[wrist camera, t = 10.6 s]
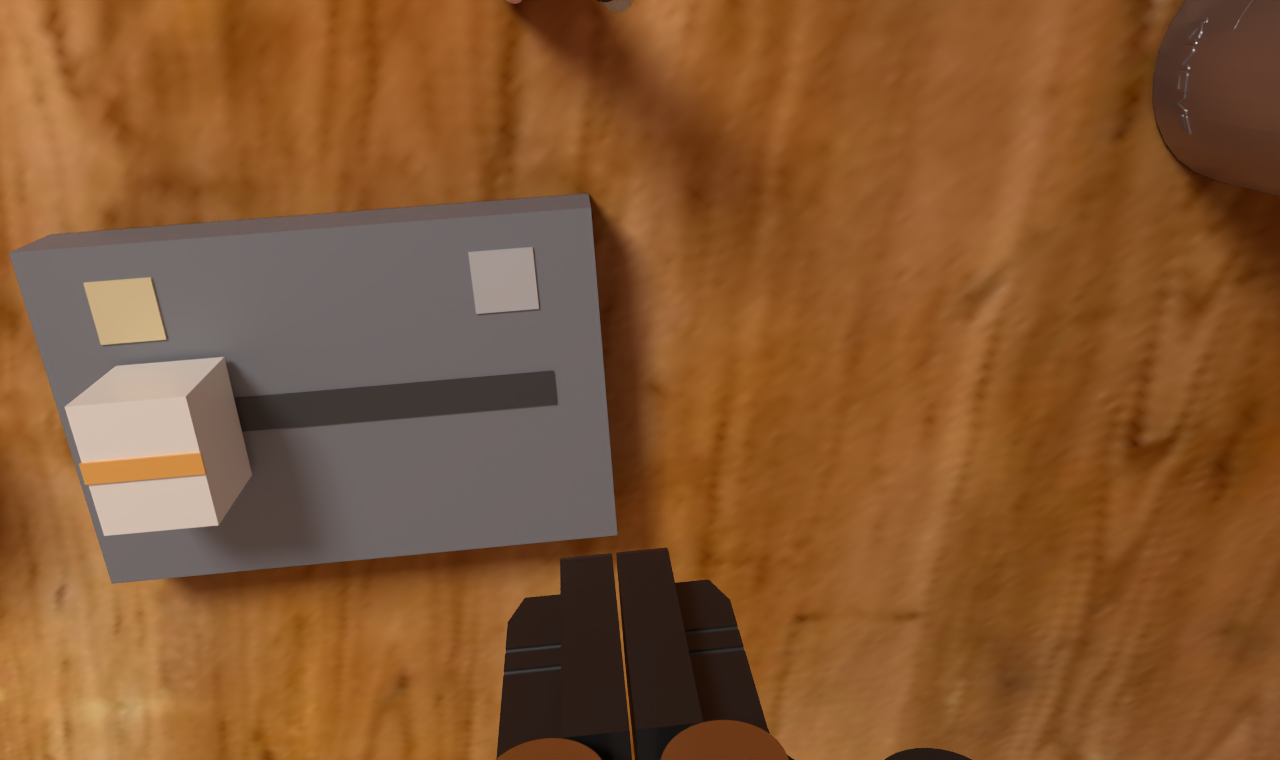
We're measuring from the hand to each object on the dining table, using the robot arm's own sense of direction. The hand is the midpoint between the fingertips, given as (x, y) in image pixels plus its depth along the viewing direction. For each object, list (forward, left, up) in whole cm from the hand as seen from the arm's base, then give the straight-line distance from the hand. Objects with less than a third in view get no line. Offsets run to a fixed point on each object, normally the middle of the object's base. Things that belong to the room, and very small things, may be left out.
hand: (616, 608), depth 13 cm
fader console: (+10, +6, -27) cm, 29 cm away
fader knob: (+16, +6, -24) cm, 29 cm away
